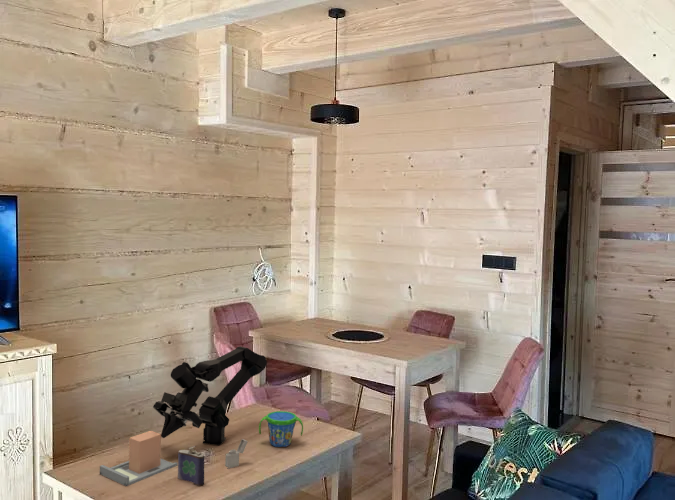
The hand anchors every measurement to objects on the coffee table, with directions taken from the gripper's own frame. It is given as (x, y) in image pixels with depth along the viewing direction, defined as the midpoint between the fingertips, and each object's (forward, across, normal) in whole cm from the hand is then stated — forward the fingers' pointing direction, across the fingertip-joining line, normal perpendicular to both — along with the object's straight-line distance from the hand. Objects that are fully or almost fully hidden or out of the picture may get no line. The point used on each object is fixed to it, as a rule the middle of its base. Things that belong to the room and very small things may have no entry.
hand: (162, 437), depth 194 cm
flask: (+8, +18, +4) cm, 20 cm away
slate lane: (+12, 0, 0) cm, 12 cm away
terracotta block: (+10, 0, +1) cm, 10 cm away
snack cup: (-20, +19, +32) cm, 42 cm away
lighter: (-4, +20, +16) cm, 25 cm away
